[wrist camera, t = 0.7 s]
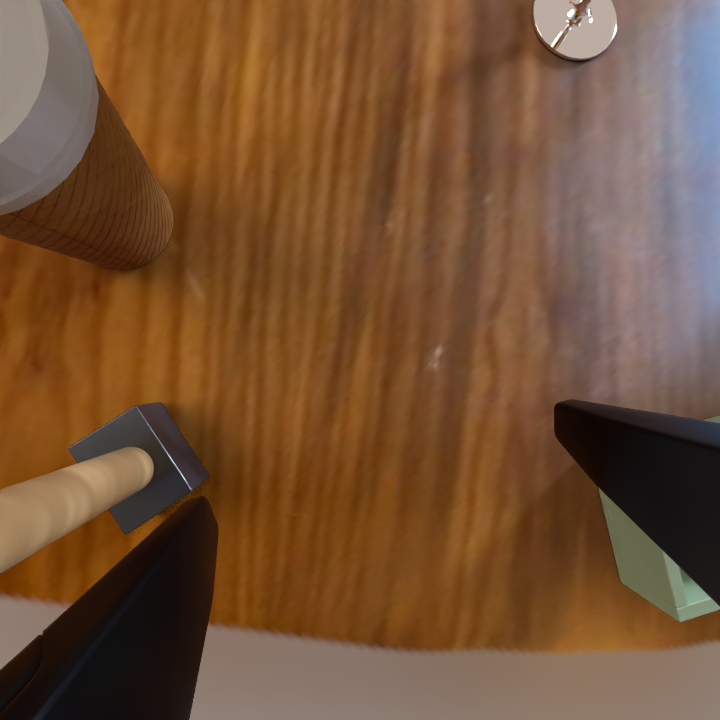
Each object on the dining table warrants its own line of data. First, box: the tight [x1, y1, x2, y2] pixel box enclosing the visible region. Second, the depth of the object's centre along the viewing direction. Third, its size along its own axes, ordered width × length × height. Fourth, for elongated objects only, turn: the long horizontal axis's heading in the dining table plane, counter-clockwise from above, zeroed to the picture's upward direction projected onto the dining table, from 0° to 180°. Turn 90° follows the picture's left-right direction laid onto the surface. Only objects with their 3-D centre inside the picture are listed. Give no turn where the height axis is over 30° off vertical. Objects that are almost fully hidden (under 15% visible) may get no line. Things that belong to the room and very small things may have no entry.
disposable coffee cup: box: [0, 0, 174, 270], centre depth 17 cm, size 10×10×12 cm
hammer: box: [0, 402, 209, 574], centre depth 16 cm, size 6×4×13 cm
